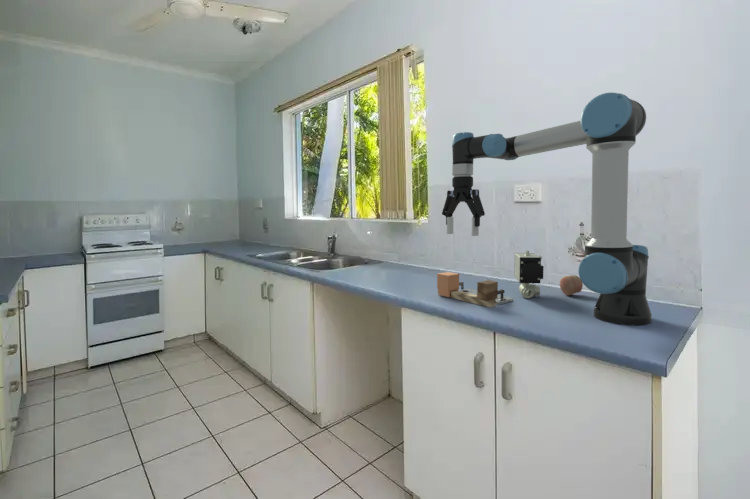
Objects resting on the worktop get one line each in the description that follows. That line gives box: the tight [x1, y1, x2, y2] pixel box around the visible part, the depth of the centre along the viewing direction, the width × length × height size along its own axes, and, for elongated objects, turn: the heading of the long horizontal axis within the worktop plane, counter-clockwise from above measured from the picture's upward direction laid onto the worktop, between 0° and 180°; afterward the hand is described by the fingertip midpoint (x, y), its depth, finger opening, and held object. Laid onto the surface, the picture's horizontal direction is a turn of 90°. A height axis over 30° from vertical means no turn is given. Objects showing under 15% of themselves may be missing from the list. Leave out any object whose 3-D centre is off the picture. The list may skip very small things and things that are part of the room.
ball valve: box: [513, 250, 544, 299], centre depth 152 cm, size 18×8×18 cm, turn 168°
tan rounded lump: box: [559, 274, 584, 297], centre depth 153 cm, size 8×8×8 cm
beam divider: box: [449, 279, 505, 308], centre depth 150 cm, size 25×12×8 cm, turn 34°
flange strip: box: [458, 288, 514, 306], centre depth 153 cm, size 22×9×1 cm, turn 34°
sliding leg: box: [436, 271, 465, 298], centre depth 158 cm, size 6×12×8 cm, turn 124°
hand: (462, 234), depth 149 cm, fingers open, 12 cm apart
